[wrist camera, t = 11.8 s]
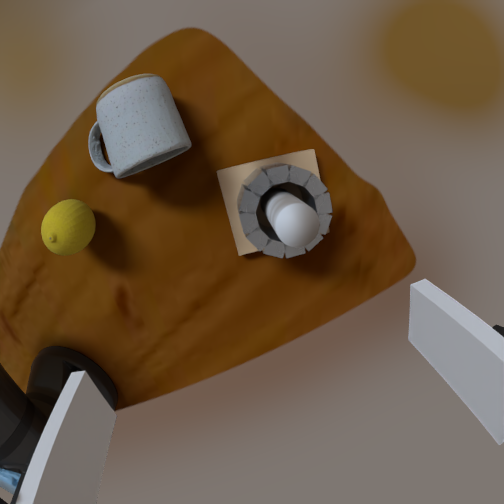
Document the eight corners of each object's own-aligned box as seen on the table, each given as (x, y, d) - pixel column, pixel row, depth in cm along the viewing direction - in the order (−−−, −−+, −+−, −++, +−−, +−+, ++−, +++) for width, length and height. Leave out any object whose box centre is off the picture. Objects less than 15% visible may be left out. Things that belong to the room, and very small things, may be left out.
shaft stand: (238, 251, 33) (244, 298, 23) (216, 170, 30) (212, 181, 19) (325, 228, 33) (367, 264, 23) (310, 149, 30) (351, 150, 20)
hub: (248, 249, 31) (252, 267, 27) (228, 174, 29) (229, 178, 24) (321, 230, 31) (337, 244, 27) (306, 156, 29) (322, 157, 24)
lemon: (61, 231, 30) (25, 253, 23) (72, 187, 29) (33, 199, 21) (99, 248, 31) (68, 275, 24) (111, 203, 30) (80, 221, 22)
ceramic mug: (169, 79, 26) (150, 59, 19) (197, 147, 29) (186, 146, 22) (84, 124, 27) (48, 121, 20) (110, 189, 30) (78, 202, 22)
